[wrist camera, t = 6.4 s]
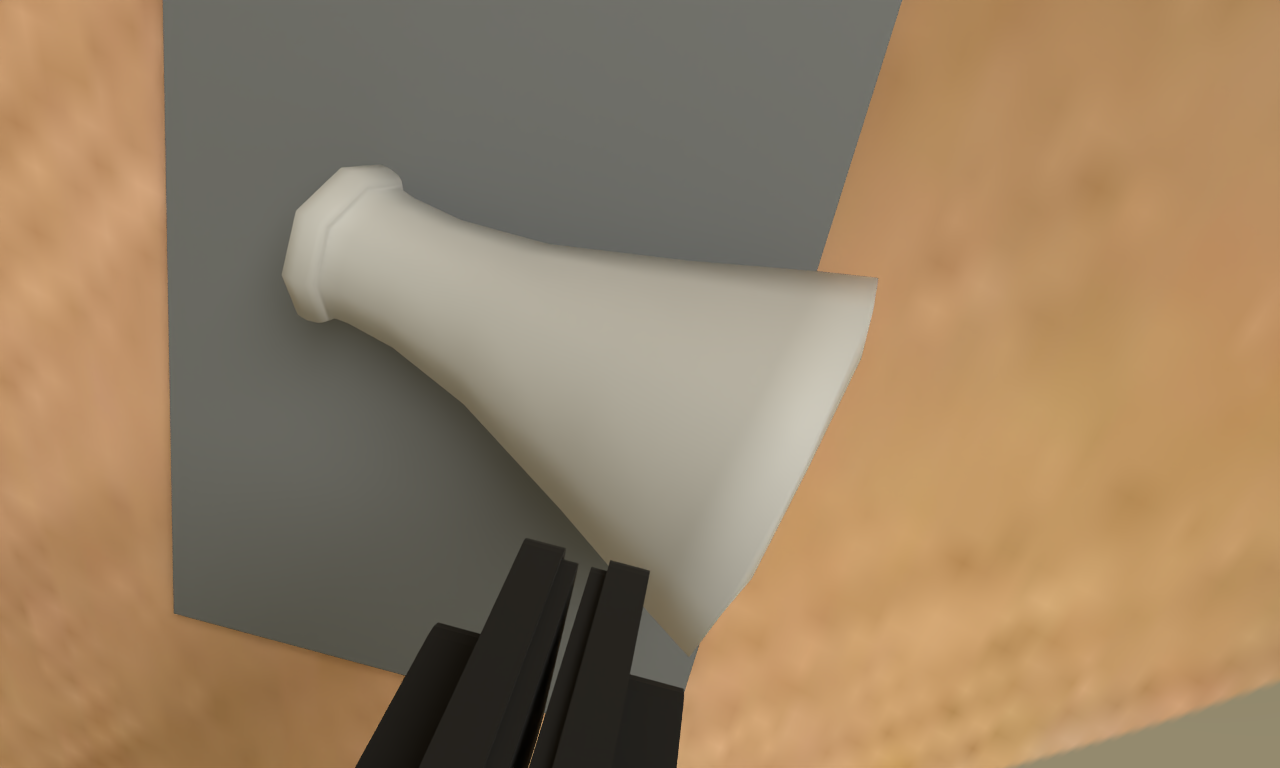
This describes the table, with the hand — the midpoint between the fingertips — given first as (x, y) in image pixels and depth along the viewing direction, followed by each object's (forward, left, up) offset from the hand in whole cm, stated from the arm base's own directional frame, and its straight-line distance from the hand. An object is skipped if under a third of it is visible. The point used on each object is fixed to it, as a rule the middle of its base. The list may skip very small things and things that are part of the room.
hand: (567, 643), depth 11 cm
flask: (+3, +1, -5) cm, 6 cm away
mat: (-4, 0, -9) cm, 10 cm away
